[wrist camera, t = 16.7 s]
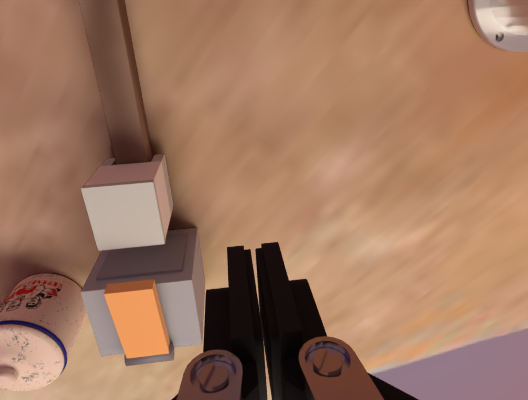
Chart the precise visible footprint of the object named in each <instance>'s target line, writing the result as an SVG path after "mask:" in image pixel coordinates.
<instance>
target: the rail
mask: <svg viewBox="0 0 528 400" xmlns="http://www.w3.org/2000/svg"><path fill="white" fill-rule="evenodd" d="M79 4H80V8H81V13H82V17H83V22H84V26H85V30H86V35H87V39H88V43H89V48H90V52H91V56H92V61H93V65H94V70H95V74H96V78H97V83H98V87H99V91H100V96H101V100H102V104H103V109H104V113H105V118H106V122H107V126H108V131H109V135H110V139H111V144H112V148H113V152H114V157H115V161H116V165H120V164H132V163H144V162H151V161H152V159H153V153H152V148H151V142H150V137H149V132H148V126H147V121H146V115H145V110H144V104H143V99H142V93H141V88H140V82H139V77H138V72H137V66H136V61H135V55H134V50H133V44H132V39H131V33H130V28H129V23H128V17H127V12H126V6H125V1H124V0H79Z"/></svg>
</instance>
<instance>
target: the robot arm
mask: <svg viewBox="0 0 528 400" xmlns="http://www.w3.org/2000/svg"><path fill="white" fill-rule="evenodd" d="M468 6H469V13H470V17H471V20H472V23H473V26H474V28H475V29H476V31H477V33H478V34H479V36H480V37H481V38H482V39H483V40H484V41H485V42H486V43H488V44H489V45H491V46H493V47H494V48H497V49H500V50H504V51H512V52H522V51H528V0H468ZM227 258H228V282H229V287H228V288H219V289H210V290H206V303H205V326H204V348H203V353H201V354H199V355H198V356H196V357H195V358H194V359H192V361H191V362H190V363H189V364H188V365H187V367H186V369H185V371H184V374H183V378H182V381H181V385H180V389H179V392H178V394H177V395H176V396H175V397H174V398H173V399H172V400H267V387H266V373H265V358H264V347H265V354H266V361H267V368H268V375H269V381H270V388H271V395H272V400H418V399H416V398H414V397H413V396H410V395H409V394H407V393H405V392H403V391H401V390H399V389H397V388H395V387H393V386H391V385H390V384H388V383H386V382H384V381H382V380H380V379H379V378H376V377H375V376H373V375H371V374H369V373H367V371H366V370H365V368H364V366H363V365H362V363H361V362H360V360H359V358H358V357H357V355H356V354H355V352H354V351H353V349H352V348H351V347H350V346H349V345H348V344H346V343H345V342H344V341H342V340H340V339H337V338H334V337H327V334H326V332H325V329H324V326H323V323H322V320H321V317H320V315H319V312H318V309H317V306H316V303H315V300H314V298H313V295H312V292H311V289H310V286H309V283H308V281H307V279H300V280H291V281H289V279H288V276H287V272H286V269H285V265H284V262H283V258H282V254H281V251H280V247H279V244H278V242H273V243H264V244H261V248H258V249H256V264H257V278H258V293H259V305H258V298H257V291H256V284H255V277H254V270H253V264H252V257H251V250H250V249H248V250H244V246H234V247H227ZM259 307H260V312H259ZM263 340H264V344H263Z"/></svg>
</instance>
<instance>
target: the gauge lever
mask: <svg viewBox="0 0 528 400" xmlns="http://www.w3.org/2000/svg"><path fill="white" fill-rule="evenodd" d="M104 296H105V299H106V302H107V304H108V307H109V310H110V313H111V316H112V318H113V321H114V324H115V327H116V330H117V333H118V335H119V338H120V341H121V344H122V347H123V349H124V352H125V364H126V366H130V365H138V364H147V363H155V362H163V361H171V360H174V345H173V343H170V340H169V336H168V332H167V328H166V324H165V320H164V316H163V312H162V308H161V304H160V300H159V296H158V292H157V288H156V284H155V280H154V279H151V280H142V281H132V282H123V283H114V284H107V287H106V290H105V292H104Z"/></svg>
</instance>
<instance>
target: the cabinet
mask: <svg viewBox="0 0 528 400" xmlns="http://www.w3.org/2000/svg"><path fill="white" fill-rule="evenodd" d="M165 240H166V241H165V244H161V245H151V246H141V247H131V248H121V249H111V250H102V251H101V253H100V255H99V257H98V259H97V261H96V263H95V265H94V267H93V269H92V271H91V273H90V275H89V276H88V278H87V280H86V282H85V284H84V286H83V288H82V290H81V295H82V298H83V301H84V304H85V308H86V311H87V314H88V317H89V320H90V323H91V326H92V329H93V333H94V336H95V339H96V342H97V345H98V348H99V351H100V354H101V356H108V355H117V354H125V352H124V349H123V347H122V344H121V341H120V338H119V335H118V333H117V330H116V327H115V324H114V321H113V318H112V316H111V313H110V310H109V307H108V304H107V302H106V299H105V296H104V292H105V290H106V287H107V284H114V283H123V282H132V281H142V280H151V279H154V280H155V284H156V288H157V292H158V296H159V300H160V304H161V308H162V312H163V316H164V320H165V324H166V328H167V332H168V336H169V340H170V343H173V345H174V347H182V346H191V345H199V344H202V338H203V317H204V297H205V279H204V272H203V265H202V258H201V251H200V244H199V237H198V230H197V228H190V229H179V230H169V231H167V234H166V238H165Z"/></svg>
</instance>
